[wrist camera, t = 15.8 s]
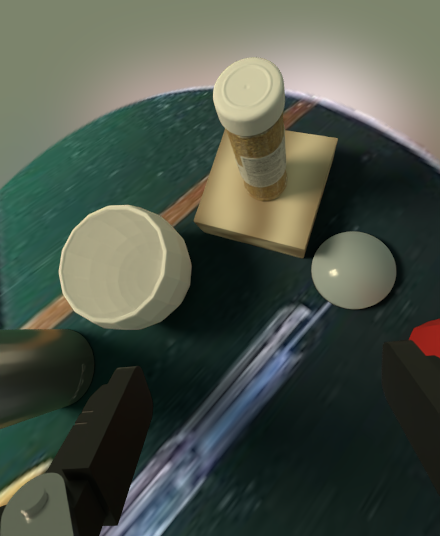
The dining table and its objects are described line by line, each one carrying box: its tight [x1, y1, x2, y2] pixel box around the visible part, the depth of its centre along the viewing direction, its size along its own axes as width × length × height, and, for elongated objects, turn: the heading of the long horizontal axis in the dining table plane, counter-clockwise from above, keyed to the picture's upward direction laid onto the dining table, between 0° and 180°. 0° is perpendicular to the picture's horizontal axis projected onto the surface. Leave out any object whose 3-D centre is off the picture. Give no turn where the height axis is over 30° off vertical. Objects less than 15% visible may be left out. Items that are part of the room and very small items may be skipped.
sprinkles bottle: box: [213, 58, 287, 201], centre depth 26 cm, size 5×5×13 cm
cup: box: [59, 205, 192, 330], centre depth 33 cm, size 12×12×10 cm
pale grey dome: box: [311, 232, 396, 309], centre depth 32 cm, size 8×8×1 cm
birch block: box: [194, 129, 338, 258], centre depth 34 cm, size 12×12×4 cm
